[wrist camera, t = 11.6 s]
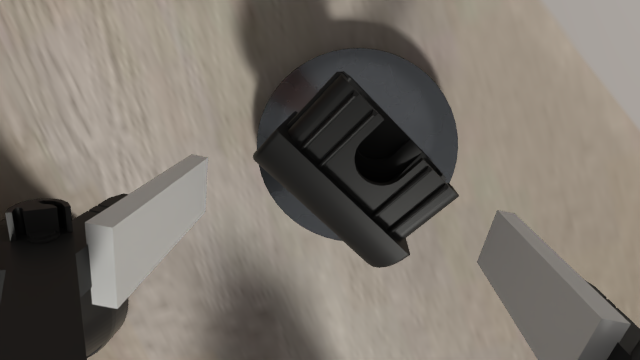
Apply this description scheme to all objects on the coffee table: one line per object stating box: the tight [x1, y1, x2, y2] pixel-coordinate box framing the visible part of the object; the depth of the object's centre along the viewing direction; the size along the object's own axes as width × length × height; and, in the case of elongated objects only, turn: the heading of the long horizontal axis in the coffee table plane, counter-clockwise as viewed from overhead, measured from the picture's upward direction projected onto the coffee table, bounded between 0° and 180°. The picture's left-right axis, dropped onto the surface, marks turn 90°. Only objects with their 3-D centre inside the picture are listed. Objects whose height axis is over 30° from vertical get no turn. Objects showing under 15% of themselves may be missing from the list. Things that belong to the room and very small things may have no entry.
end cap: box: [253, 71, 459, 268], centre depth 21 cm, size 10×7×7 cm
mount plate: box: [257, 48, 458, 241], centre depth 25 cm, size 14×14×2 cm
